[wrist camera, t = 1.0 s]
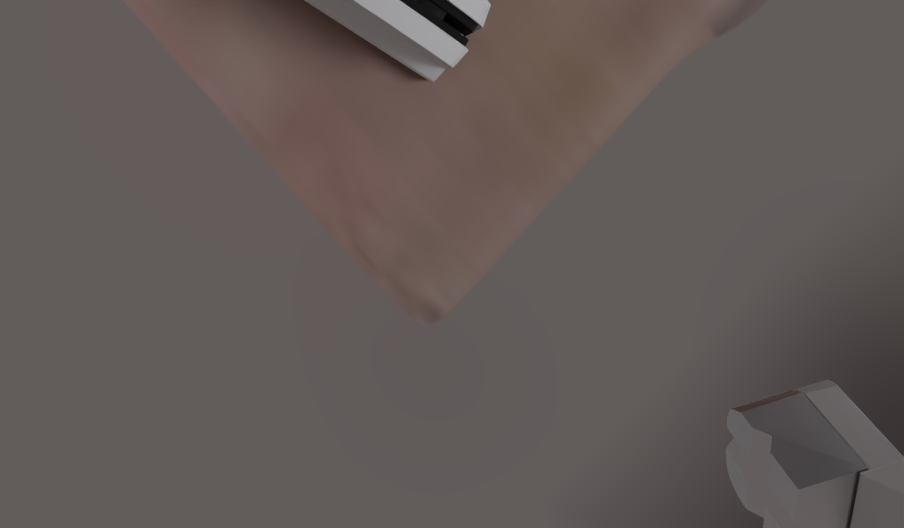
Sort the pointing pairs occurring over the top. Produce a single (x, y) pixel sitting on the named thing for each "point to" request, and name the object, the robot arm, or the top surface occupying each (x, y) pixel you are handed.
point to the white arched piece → (412, 28)
